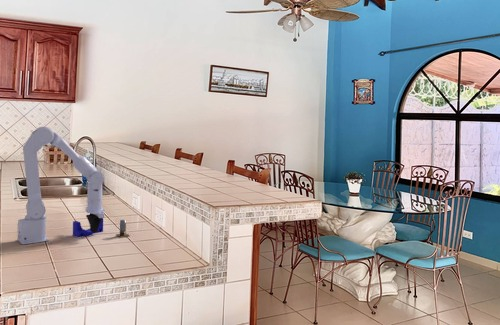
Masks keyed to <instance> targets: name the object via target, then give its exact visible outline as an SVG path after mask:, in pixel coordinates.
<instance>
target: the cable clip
mask: <svg viewBox="0 0 500 325" xmlns="http://www.w3.org/2000/svg"><path fill="white" fill-rule="evenodd" d="M102 232H104V218H102V220H101V222H100V224H99V228H98V231H97V232H91V229H90V228H88V229H84V228H83V226H82V224H81V221H77V220H75V221H72V236H73V237H77V238H78V237H80V238H83V237H84V238H85V237H88V236H89V237H90V236H93V234H98V233H99V234H100V233H102Z"/></svg>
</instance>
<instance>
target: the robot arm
mask: <svg viewBox="0 0 500 325" xmlns="http://www.w3.org/2000/svg"><path fill="white" fill-rule="evenodd" d="M48 144H50V146H54V147H57V148H59V150H61V151H62V152H63V153H64V154H65V155H66V156H67V157H68V158H69V159H70V160H71V161H72V167H73V168H74V169H76V170H77V172H78V173H79V174H80V175H82V176H83V177H84V178H86V181H87V197H86V198H87V200H86V201H87V202H86V203H87V204H86V206H85V213H87V214H86V215H85V216H86V217H85V218H86V219H87V222H88V224H89V229H91V232H97V231H98V228H99V224H100V222H101V220H102V218H103V219H104V218H105V213H104V212H105V211H106V209H104V208H103V183H104V181H105V177H104V174H103V173H101V172H100V170H98V169H99V168H98V167H97V166H94V165H93V163H91V161H90V160H91V159H90V158H89V157H86V156H85V155H79V154H78V153H77V152H76V151H75V150H74V149H73V147H72V146H71V145H70V144H69V143H68V142H67V141H66V140H65V139H64V138H63V137H62V136H60V135H59V134H58V133H56V132H55V131H53V130H52V128H50V127H47V126H39V127H37V128H36V129H35V130H33V131H32V132H31V134H30V136H29V137H28V138H27V140H26V141H25V143H24V145H23V146H22V152H23V161H24V162H23V164H24V171H25V172H24V173H25V181H26V182H25V183H26V191H27V203H26V205H25V210H26V215H24V218H21V219H18V220H17V239H16V240H17V241H18V242H19V243H20V244H21V245H28V244H36V243H42V242H49V241H50V239H49V238H48V237H47V215H46V214H45V213H46V209H47V208H46V207H45V203H44V201H43V199H42V193H41V190H42V189H41V182H40V181H41V180H40V172H39V162H38V161H39V160H38V152H39V151H40V150H41V149H42V148H43V147H44V146H46V145H48Z"/></svg>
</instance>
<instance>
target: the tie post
mask: <svg viewBox="0 0 500 325" xmlns="http://www.w3.org/2000/svg"><path fill="white" fill-rule="evenodd" d="M115 236H116V237H118V238H120V239H121V238H128V237H130V234H129V233H127V220H126V219H120V221H119V233H115Z"/></svg>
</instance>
